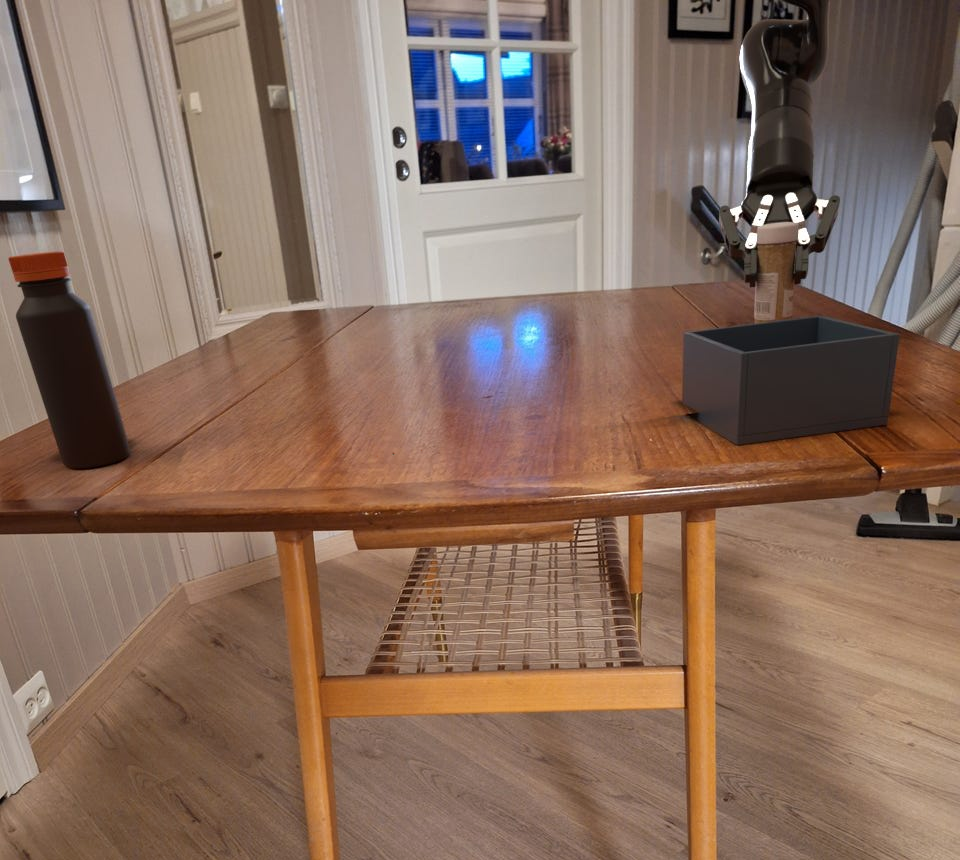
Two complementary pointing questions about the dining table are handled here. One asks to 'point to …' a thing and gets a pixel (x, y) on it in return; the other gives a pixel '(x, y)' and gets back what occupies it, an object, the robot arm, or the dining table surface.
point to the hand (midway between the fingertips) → (775, 280)
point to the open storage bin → (788, 378)
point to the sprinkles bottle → (775, 271)
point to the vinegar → (68, 363)
